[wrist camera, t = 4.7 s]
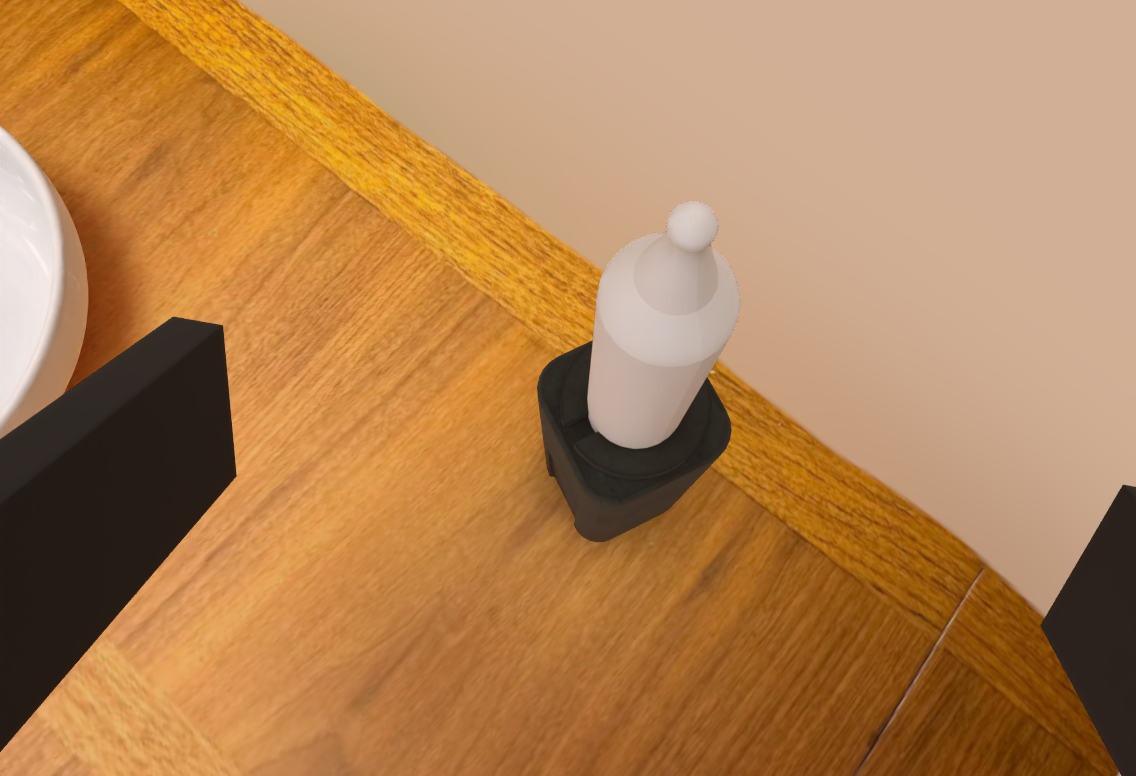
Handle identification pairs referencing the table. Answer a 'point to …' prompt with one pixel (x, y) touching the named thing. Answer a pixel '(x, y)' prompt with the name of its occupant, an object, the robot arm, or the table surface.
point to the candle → (643, 380)
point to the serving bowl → (36, 288)
